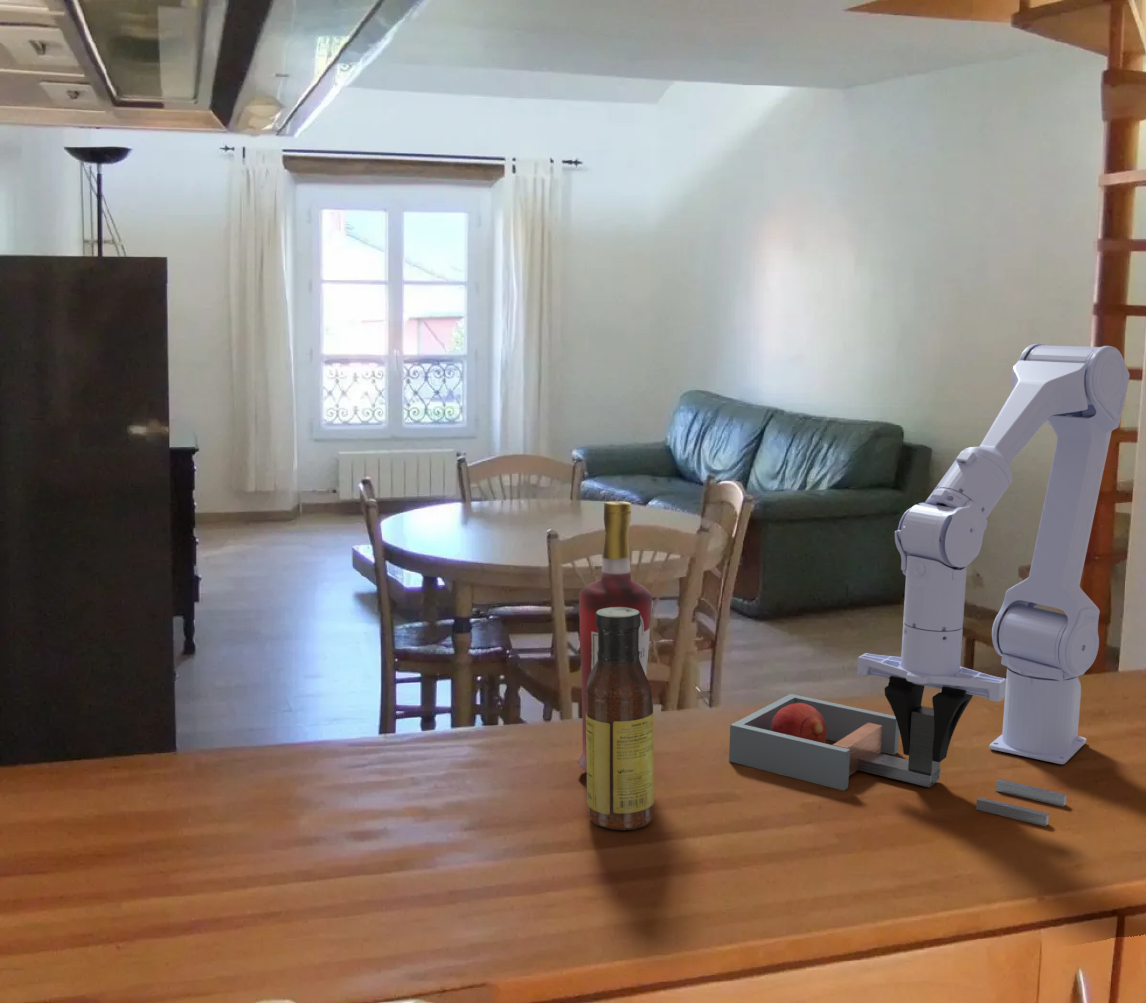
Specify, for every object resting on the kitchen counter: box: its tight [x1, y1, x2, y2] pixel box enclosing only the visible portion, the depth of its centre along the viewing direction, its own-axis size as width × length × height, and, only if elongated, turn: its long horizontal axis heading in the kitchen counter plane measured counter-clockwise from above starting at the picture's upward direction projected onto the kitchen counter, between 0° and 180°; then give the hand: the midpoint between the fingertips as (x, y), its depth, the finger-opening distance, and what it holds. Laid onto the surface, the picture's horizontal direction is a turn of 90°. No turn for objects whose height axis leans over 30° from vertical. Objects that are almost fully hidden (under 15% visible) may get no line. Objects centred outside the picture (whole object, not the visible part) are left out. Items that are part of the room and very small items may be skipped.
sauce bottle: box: [586, 607, 655, 831], centre depth 113 cm, size 6×6×20 cm
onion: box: [771, 703, 827, 744], centre depth 131 cm, size 6×6×8 cm
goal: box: [728, 693, 900, 791], centre depth 132 cm, size 14×13×4 cm
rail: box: [975, 778, 1067, 828], centre depth 120 cm, size 7×6×1 cm
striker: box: [832, 705, 942, 788], centre depth 127 cm, size 9×9×7 cm
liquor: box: [577, 500, 653, 774], centre depth 124 cm, size 7×7×28 cm
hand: (924, 755), depth 125 cm, fingers closed on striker, 2 cm apart
